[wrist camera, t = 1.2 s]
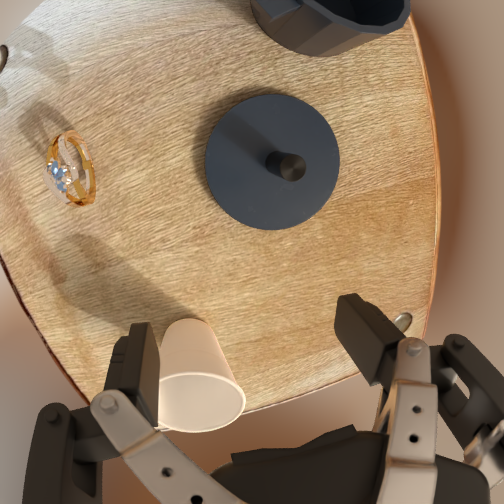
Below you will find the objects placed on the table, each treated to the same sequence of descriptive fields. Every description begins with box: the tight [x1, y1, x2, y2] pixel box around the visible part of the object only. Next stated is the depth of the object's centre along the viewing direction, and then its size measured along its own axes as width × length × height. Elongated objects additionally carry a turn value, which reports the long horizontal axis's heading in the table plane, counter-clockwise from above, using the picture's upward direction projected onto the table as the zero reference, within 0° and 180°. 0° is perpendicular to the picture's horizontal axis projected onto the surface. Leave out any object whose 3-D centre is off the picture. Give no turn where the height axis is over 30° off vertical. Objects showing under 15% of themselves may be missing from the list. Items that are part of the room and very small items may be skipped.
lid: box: [205, 94, 340, 230], centre depth 25 cm, size 14×14×6 cm
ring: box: [43, 130, 96, 208], centre depth 20 cm, size 7×3×8 cm, turn 9°
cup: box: [158, 318, 246, 432], centre depth 29 cm, size 10×10×11 cm
